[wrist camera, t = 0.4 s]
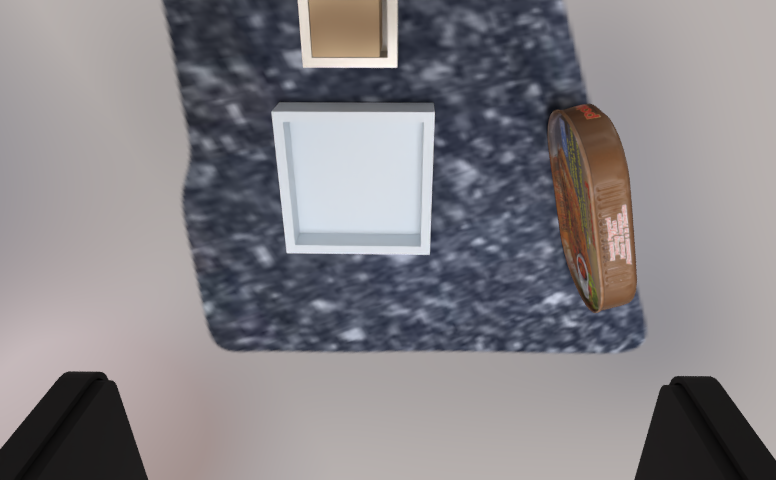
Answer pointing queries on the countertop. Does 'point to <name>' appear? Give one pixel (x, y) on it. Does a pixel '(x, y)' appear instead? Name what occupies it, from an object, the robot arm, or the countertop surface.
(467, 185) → the countertop surface
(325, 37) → the block
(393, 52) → the cream square open box
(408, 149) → the tray
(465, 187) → the countertop surface
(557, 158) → the tin
